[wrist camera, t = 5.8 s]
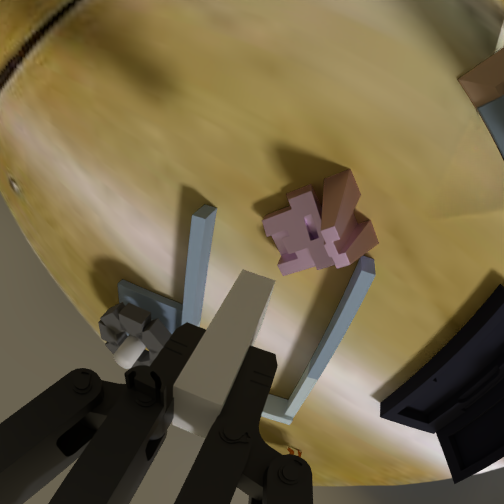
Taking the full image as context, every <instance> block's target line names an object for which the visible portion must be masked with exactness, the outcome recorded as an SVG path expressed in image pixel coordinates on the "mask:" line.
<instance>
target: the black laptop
mask: <svg viewBox="0 0 504 504" xmlns="http://www.w3.org/2000/svg"><path fill="white" fill-rule="evenodd" d="M380 417H381V418H384V419H387V420H390V421H393V422H396V423H400V424H403V425H406V426H409V427H412V428H416V429H419V430H422V431H426V432H429V433H433V434H434V433H435V432H436V434H437V437H438V439H439V442H440V445H441V447H442V450H443V453H444V455H445V458H446V461H447V464H448V467H449V469H450V472H451V475H452V478H453V481H454V484H456V483H458V482H460V481H462V480H464V479H465V478H467V477H469V476H471V475H473V474H475V473H477V472H479V471H481V470H482V469H484V468H486V467H488V466H489V465H491V464H493V463H495V462H496V461H498V460H500V459H501V458H503V457H504V286H502V285H501V284H500V285H499V286H498V287H497V288H496V290H495V291H494V292H493V293H492V295H491V296H490V297H489V298H488V299H487V301H486V302H485V303H484V304H483V305H482V307H481V308H480V309H479V310H478V311H477V312H476V313H475V315H474V316H473V317H472V318H471V319H470V320H469V321H468V322H467V323H466V324H465V326H464V327H463V328H462V329H461V330H460V331H459V332H458V333H457V334H456V335H455V336H454V337H453V338H452V339H451V340H450V341H449V342H448V343H447V344H446V345H445V346H444V347H443V348H442V349H441V350H440V351H439V352H438V353H437V354H436V355H435V356H434V357H433V358H432V359H431V360H430V361H429V362H428V363H427V364H425V365H424V366H423V367H422V368H421V369H420V370H419V371H418V372H417V373H416V374H414V375H413V376H412V377H411V378H410V379H409V380H408V381H406V382H405V383H404V384H403V385H402V386H401V387H399V388H398V389H397V390H396V391H395V392H393V393H392V394H391V395H390V396H388V397H387V398H386V399H385V400H384V401H382V402H381V403H380Z"/></svg>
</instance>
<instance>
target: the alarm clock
mask: <svg viewBox="0 0 504 504" xmlns="http://www.w3.org/2000/svg"><path fill="white" fill-rule="evenodd" d="M458 81H459V83H460V84H461V86H462V87H463V89H464V90H465V92H466V93H467V95H468V96H469V98H470V100H471V101H472V103H473V104H474V106H475V108H476V109H477V111H478V113H479V115H480V116H481V118H482V120H483V122H484V123H485V125H486V127H487V129H488V131H489V132H490V134H491V136H492V138H493V140H494V142H495V144H496V146H497V148H498V150H499V152H500V154H501V156H502V158H503V160H504V48H502V49H501V50H499V51H498V52H496V53H495V54H493V55H492V56H490V57H489V58H488V59H486V60H485V61H483V62H482V63H480V64H479V65H478V66H476V67H475V68H473V69H472V70H470V71H469V72H467V73H466V74H465V75H463V76H462V77H460V78H459V79H458Z"/></svg>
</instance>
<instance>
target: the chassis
mask: <svg viewBox="0 0 504 504" xmlns="http://www.w3.org/2000/svg"><path fill="white" fill-rule="evenodd" d="M216 211H217V208H215V207H212V206H208V205H205V204H204V205H203V206H202V207H201V208H200V209H199V210H197V211H196V212H195V213H194V214H193V215H192V221H191V229H190V238H189V247H188V257H187V267H186V277H185V288H184V299H183V304H180V303H178V302H175V301H173V300H170V299H168V298H166V297H163V296H161V295H158V294H156V293H153V292H151V291H149V290H146V289H144V288H142V287H139V286H137V285H135V284H132V283H130V282H128V281H125V280H123V279H122V280H121V281H120V282H119V283H118V293H119V303H121V302H123V303H124V305H125V306H126V305H127V304H128V303H131V304H133V305H135V306H138V307H140V308H142V309H144V310H147V311H149V312H151V321H152V320H154V319H157V318H159V320H160V321H161V322H162V323H163V324H164V326H165V327H166V328H167V329H168V331H169V332H170V333H171V334H173V332H174V331H175V330H176V328H178V327H180V326H181V325H183V324H185V323H186V322H188V323H190V324H193V325H195V326H198V327H200V319H201V312H202V304H203V297H204V290H205V283H206V276H207V269H208V262H209V256H210V249H211V243H212V236H213V230H214V224H215V217H216ZM374 277H375V264H374V259H372V258H369V257H366V256H361V257H360V259H359V261H358V264H357V266H356V268H355V270H354V273H353V275H352V277H351V279H350V282H349V284H348V286H347V288H346V290H345V292H344V294H343V297H342V299H341V301H340V303H339V305H338V307H337V309H336V311H335V313H334V315H333V317H332V319H331V321H330V323H329V325H328V327H327V329H326V331H325V333H324V335H323V337H322V339H321V341H320V343H319V345H318V347H317V349H316V351H315V353H314V355H313V357H312V358H311V360H310V362H309V364H308V366H307V368H306V370H305V371H304V373H303V375H302V377H301V379H300V380H299V382H298V384H297V386H296V388H295V389H294V391H293V393H292V395H291V396H290V398H289V400H287V399H284V398H281V397H277V396H274V395H271V394H268V397H267V400H266V403H265V406H264V409H263V412H262V415H261V416H262V417H265V418H268V419H271V420H275V421H278V422H281V423H285V424H288V425H290V424H291V422H292V421H293V417H294V416H295V414H296V413H297V411H298V410H299V408H300V407H301V405H302V404H303V402H304V401H305V399H306V398H307V396H308V395H309V393H310V392H311V390H312V388H313V387H314V385H315V384H316V382H317V380H318V379H319V377H320V376H321V374H322V372H323V371H324V369H325V367H326V366H327V364H328V362H329V361H330V359H331V357H332V356H333V354H334V352H335V350H336V349H337V347H338V345H339V343H340V342H341V340H342V338H343V336H344V335H345V333H346V331H347V329H348V327H349V325H350V324H351V322H352V320H353V318H354V316H355V314H356V312H357V311H358V309H359V307H360V305H361V303H362V301H363V299H364V297H365V295H366V293H367V291H368V289H369V287H370V285H371V283H372V281H373V279H374ZM126 334H127V336H128V337H127V338H126V339H125V341H124V342H123V343H122V344H121V346H120V347H119V348H118V349H117V351H116V352H115V353H114V354H113V358H114V360H115V361H116V362H117V363H118V364H119V365H120V366H122V367H123V368H125V369H130V368H131V367H132V366H133V364H134V363H135V362H136V360H137V359H138V357H139V356H140V355H141V353H142V352H143V351H144V349H145V348H146V346H145V345H144V344H143V343H142V342H141V340H140V339H139V338H137V337H135V336H133V335H131V334H129V333H127V332H126Z"/></svg>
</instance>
